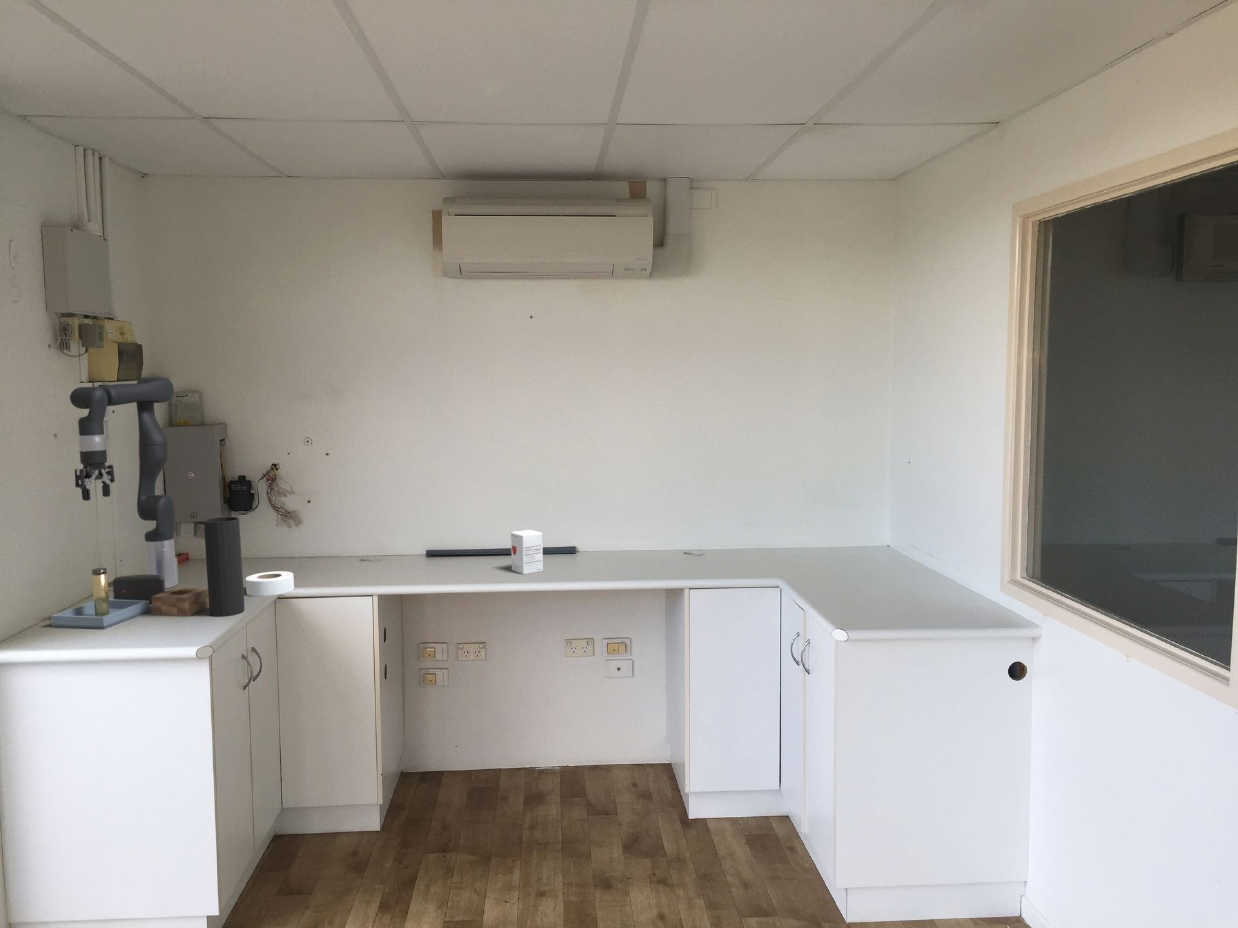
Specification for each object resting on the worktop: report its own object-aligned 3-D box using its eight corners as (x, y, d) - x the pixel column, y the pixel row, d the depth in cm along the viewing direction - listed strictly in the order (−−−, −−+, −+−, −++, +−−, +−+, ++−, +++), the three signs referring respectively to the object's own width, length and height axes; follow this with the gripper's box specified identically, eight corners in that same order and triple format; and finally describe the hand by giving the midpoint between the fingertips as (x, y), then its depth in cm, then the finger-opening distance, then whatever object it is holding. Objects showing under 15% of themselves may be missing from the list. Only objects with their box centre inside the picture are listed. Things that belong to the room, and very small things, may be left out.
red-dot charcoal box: (170, 600, 299) (168, 572, 298) (164, 603, 294) (162, 576, 293) (119, 602, 297) (117, 574, 296) (113, 605, 292) (111, 577, 291)
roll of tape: (236, 593, 308) (235, 577, 307) (275, 583, 321) (275, 568, 320) (264, 599, 299) (263, 582, 298) (303, 589, 312) (302, 573, 311)
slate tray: (100, 609, 288) (100, 598, 287) (150, 611, 285) (149, 600, 284) (51, 626, 268) (50, 615, 268) (104, 628, 265) (103, 617, 265)
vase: (204, 612, 282) (198, 520, 278) (235, 606, 289) (229, 515, 286) (218, 618, 275) (212, 523, 272) (250, 611, 282) (244, 518, 279)
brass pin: (101, 614, 279) (98, 567, 277) (112, 614, 278) (109, 567, 277) (92, 617, 275) (88, 570, 273) (103, 618, 274) (99, 570, 273)
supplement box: (511, 570, 336) (509, 531, 334) (531, 567, 341) (530, 529, 340) (523, 574, 328) (522, 535, 327) (543, 571, 334) (542, 532, 332)
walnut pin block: (177, 605, 292) (176, 587, 291) (210, 606, 290) (209, 588, 289) (152, 614, 280) (151, 596, 279) (186, 616, 278) (185, 597, 277)
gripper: (99, 447, 293) (102, 495, 295) (65, 450, 279) (69, 501, 281) (119, 447, 292) (122, 495, 293) (86, 450, 278) (90, 501, 279)
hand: (96, 498), depth 287 cm, fingers open, 8 cm apart
